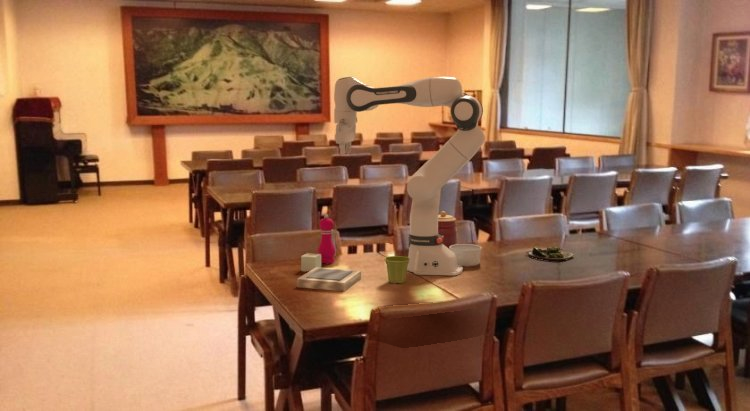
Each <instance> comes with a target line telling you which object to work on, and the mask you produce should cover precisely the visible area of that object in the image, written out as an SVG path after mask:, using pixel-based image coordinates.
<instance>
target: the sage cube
mask: <svg viewBox="0 0 750 411" xmlns="http://www.w3.org/2000/svg"><path fill="white" fill-rule="evenodd" d="M300 258H301V259H300V264H301V265H300V266H301V268H300V269H301V272H306V271H311V270H313V269H314V268H316V267H318V268H322V263H321V254H318V253H313V252H312V253H311V252H310V253H309V252H307V253H305V254H303V255H301V256H300Z"/></svg>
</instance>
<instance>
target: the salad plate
mask: <svg viewBox="0 0 750 411" xmlns="http://www.w3.org/2000/svg"><path fill="white" fill-rule="evenodd" d="M524 253H526V254H527V255H528V256H529V257H530V256H531V257H533V258H532V259H534V258H537V259H536V260H538V259H543V260H542V261H544V260H548V261H547V262H551V261H560V262H563V261H562V260H565V261H567V260H569V259H571V258H572V257H574V254H573V253H572V252H565V251H564V249H563V248H560V247H558V246H555V247H554V246H549V247H546V249H545V248H537V247H536V246H533V248H532V250H528V251H525V252H524ZM561 253H562V254H561ZM563 254H565V255H567V256H568V257H567V258H566V257H565V256H564V255H563ZM531 257H530V258H531ZM566 259H567V260H566Z"/></svg>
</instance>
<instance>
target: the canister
mask: <svg viewBox="0 0 750 411" xmlns="http://www.w3.org/2000/svg"><path fill="white" fill-rule="evenodd" d="M456 221H457V218H456V217H454V216H453V215H450V214H447V212H446V211H444V210H441V211H440V212H439V214H438V234H439V235H441V236H443V243H442V244H443V245H445V246H446V247H447V248H448V249H449V247H450V246H451V245H456V244H458V230H457V227H458V225H459V224H458V223H457V222H456Z"/></svg>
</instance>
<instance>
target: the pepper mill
mask: <svg viewBox="0 0 750 411" xmlns="http://www.w3.org/2000/svg"><path fill="white" fill-rule="evenodd" d="M334 225H335V223H334V221H333V219H332V218H329V215H328V214H324V216H323V218H321V219H320V221H319V222H318V227H319V228H320V235H321V241H320V244H319V246H318V249H317V254H321V264H323V263H330V264H334V263H335V257H334V256H335V255H336V247H335V245H334V243H333V240H332V234H333V228H334ZM333 262H334V263H333Z"/></svg>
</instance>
